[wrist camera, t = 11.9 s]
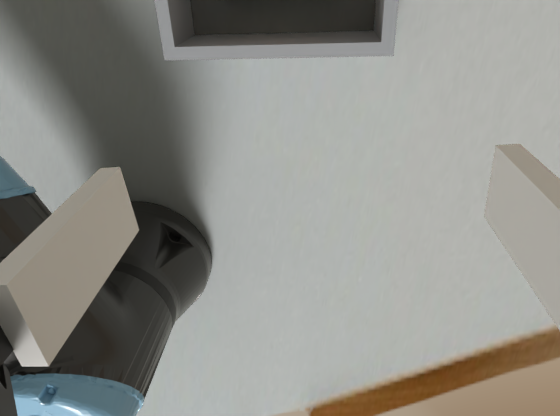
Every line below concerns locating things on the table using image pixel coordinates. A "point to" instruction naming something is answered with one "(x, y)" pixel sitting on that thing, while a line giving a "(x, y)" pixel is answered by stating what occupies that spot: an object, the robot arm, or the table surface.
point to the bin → (272, 38)
